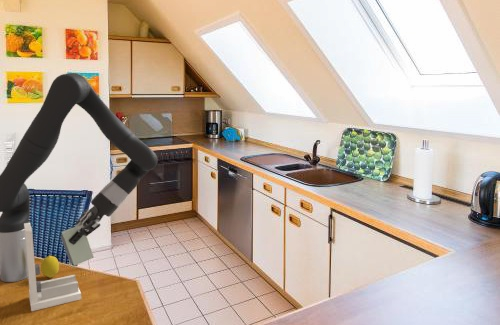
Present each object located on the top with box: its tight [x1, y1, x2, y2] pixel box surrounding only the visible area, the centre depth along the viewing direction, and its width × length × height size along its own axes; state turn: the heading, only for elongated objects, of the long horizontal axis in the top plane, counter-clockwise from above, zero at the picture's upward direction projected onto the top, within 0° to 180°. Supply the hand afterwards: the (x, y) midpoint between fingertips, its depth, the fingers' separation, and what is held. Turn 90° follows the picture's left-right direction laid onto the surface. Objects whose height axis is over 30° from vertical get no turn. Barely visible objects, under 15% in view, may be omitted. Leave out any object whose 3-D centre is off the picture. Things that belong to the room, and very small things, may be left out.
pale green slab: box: [59, 224, 95, 267], centre depth 122 cm, size 7×3×11 cm, turn 122°
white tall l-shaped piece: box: [24, 222, 82, 312], centre depth 119 cm, size 14×9×24 cm, turn 122°
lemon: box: [40, 255, 60, 279], centre depth 133 cm, size 6×6×8 cm
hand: (70, 241), depth 121 cm, fingers closed on pale green slab, 2 cm apart
